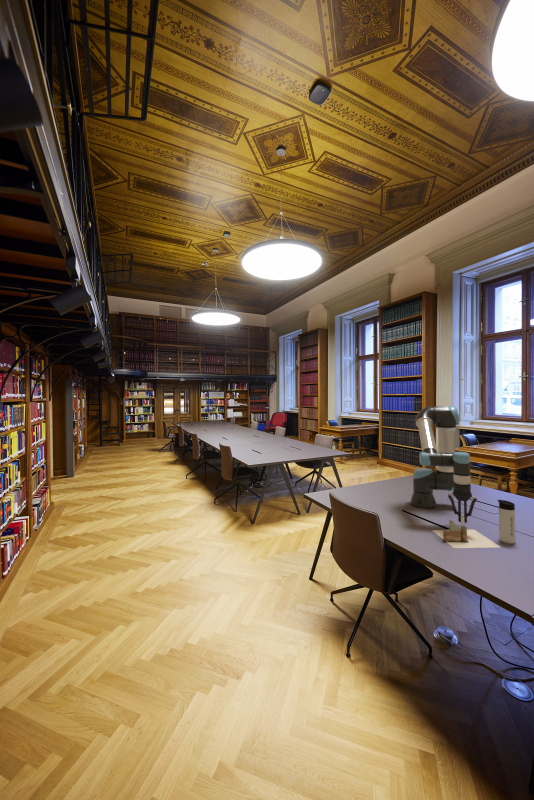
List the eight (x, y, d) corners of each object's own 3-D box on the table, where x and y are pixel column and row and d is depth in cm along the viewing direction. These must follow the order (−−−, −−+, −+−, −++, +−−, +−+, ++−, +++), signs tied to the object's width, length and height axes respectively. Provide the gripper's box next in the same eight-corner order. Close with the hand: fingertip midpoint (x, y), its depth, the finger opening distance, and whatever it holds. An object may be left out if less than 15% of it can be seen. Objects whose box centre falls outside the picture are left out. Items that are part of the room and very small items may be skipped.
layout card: (432, 531, 168) (432, 530, 168) (473, 530, 168) (473, 529, 168) (454, 549, 148) (453, 548, 148) (501, 548, 148) (501, 547, 148)
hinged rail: (463, 538, 157) (463, 528, 157) (460, 538, 157) (460, 528, 157) (451, 529, 168) (451, 520, 168) (448, 529, 168) (448, 520, 168)
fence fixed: (442, 540, 157) (442, 526, 157) (465, 539, 157) (464, 525, 157) (444, 542, 154) (444, 528, 154) (468, 542, 154) (467, 527, 154)
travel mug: (499, 538, 159) (498, 498, 159) (515, 541, 155) (515, 500, 154) (498, 542, 154) (497, 501, 154) (515, 546, 150) (514, 504, 150)
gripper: (476, 482, 163) (477, 528, 164) (447, 479, 170) (448, 523, 170) (477, 486, 157) (478, 533, 157) (447, 483, 164) (448, 528, 164)
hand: (462, 528), depth 164 cm, fingers closed
